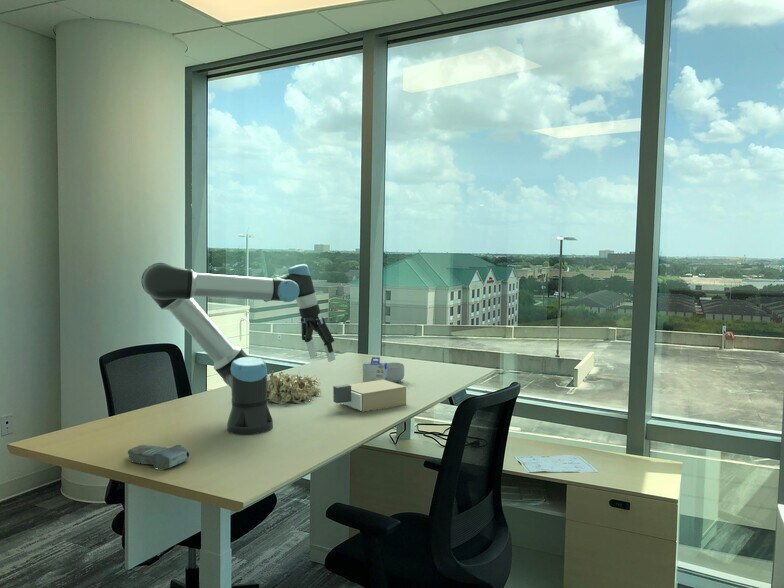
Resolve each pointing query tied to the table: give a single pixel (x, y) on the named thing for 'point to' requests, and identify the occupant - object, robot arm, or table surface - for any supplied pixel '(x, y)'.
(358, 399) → the tray
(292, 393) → the dried lichen
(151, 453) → the handheld device
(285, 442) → the table surface
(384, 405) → the sleeve
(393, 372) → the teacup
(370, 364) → the ink cartridge box
